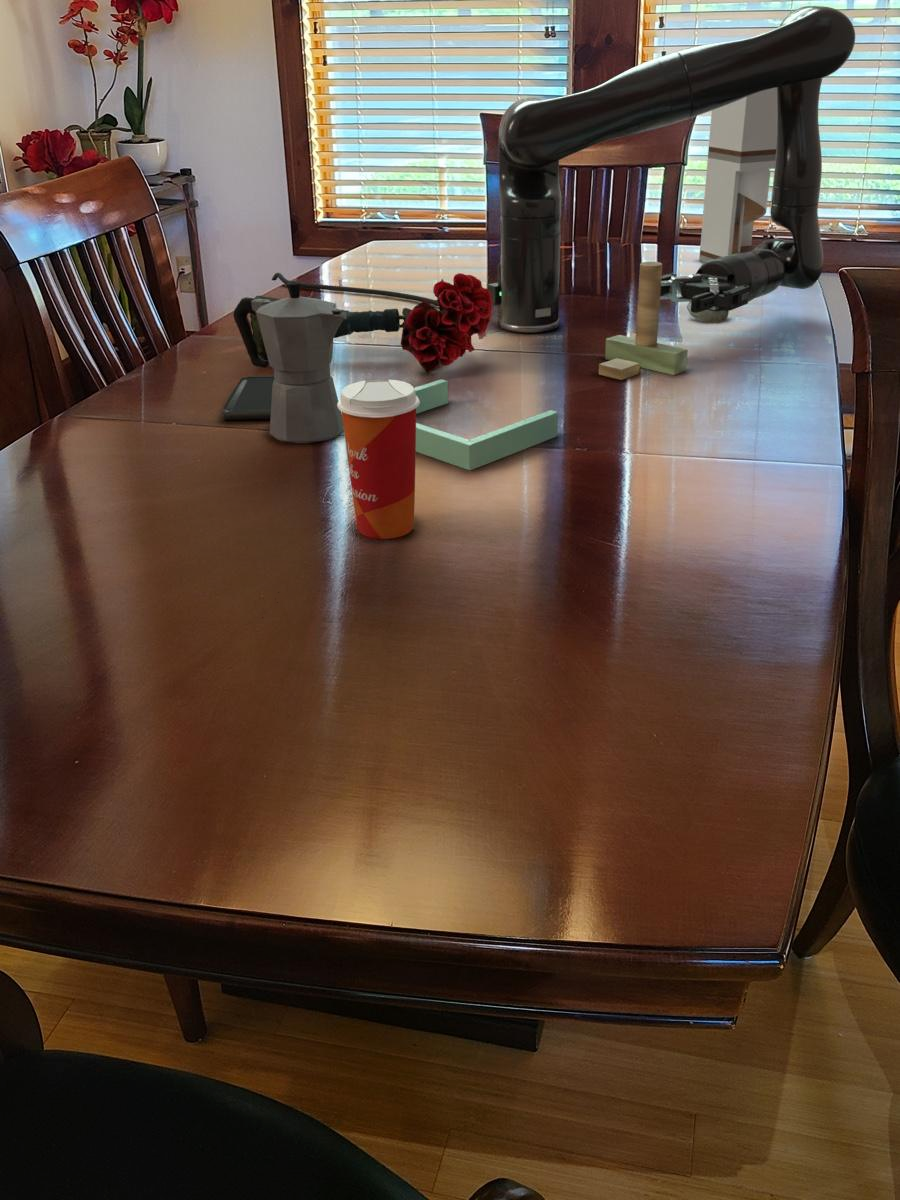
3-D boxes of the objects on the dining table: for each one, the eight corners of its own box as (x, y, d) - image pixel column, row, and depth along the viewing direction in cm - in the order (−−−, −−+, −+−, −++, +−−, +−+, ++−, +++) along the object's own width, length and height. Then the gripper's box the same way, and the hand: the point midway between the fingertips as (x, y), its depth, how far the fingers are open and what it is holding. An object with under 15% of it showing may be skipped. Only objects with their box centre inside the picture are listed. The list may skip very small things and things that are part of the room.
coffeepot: (373, 425, 133) (364, 276, 124) (334, 450, 125) (321, 294, 117) (268, 411, 139) (253, 268, 130) (225, 434, 131) (205, 284, 123)
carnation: (269, 409, 163) (499, 396, 160) (231, 357, 145) (490, 341, 142) (271, 314, 167) (497, 299, 163) (235, 251, 149) (488, 233, 145)
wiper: (617, 354, 158) (622, 256, 151) (686, 370, 150) (694, 267, 143) (604, 359, 156) (609, 259, 149) (673, 375, 148) (681, 271, 142)
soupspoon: (690, 327, 173) (731, 327, 173) (693, 306, 171) (734, 306, 171) (662, 291, 192) (699, 291, 192) (665, 272, 190) (701, 272, 190)
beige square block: (616, 368, 152) (616, 357, 151) (639, 373, 149) (639, 363, 149) (598, 374, 149) (598, 363, 149) (621, 380, 147) (622, 369, 146)
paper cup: (346, 513, 110) (336, 379, 103) (421, 509, 110) (416, 375, 103) (346, 546, 103) (335, 405, 96) (426, 542, 103) (421, 401, 97)
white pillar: (729, 270, 206) (749, 67, 190) (699, 260, 215) (715, 65, 198) (779, 264, 210) (803, 64, 193) (747, 255, 218) (767, 62, 202)
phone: (220, 411, 135) (242, 376, 148) (221, 420, 136) (243, 384, 149) (282, 410, 135) (299, 375, 148) (283, 419, 136) (299, 382, 149)
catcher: (442, 401, 141) (441, 378, 139) (557, 436, 128) (558, 412, 127) (354, 430, 132) (353, 406, 130) (469, 470, 119) (469, 445, 118)
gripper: (693, 249, 164) (628, 266, 154) (776, 261, 155) (713, 280, 145) (689, 299, 168) (625, 319, 158) (770, 313, 159) (708, 335, 149)
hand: (667, 300), depth 152 cm, fingers open, 8 cm apart
